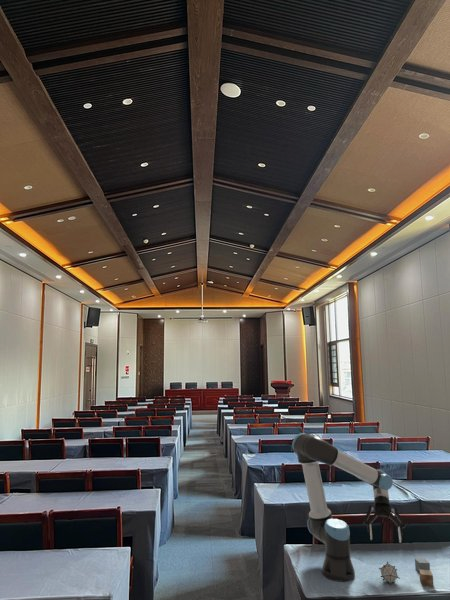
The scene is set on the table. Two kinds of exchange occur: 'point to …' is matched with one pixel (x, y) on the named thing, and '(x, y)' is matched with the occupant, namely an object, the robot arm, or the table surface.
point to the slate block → (421, 564)
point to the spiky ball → (389, 573)
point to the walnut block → (426, 578)
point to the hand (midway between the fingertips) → (385, 540)
